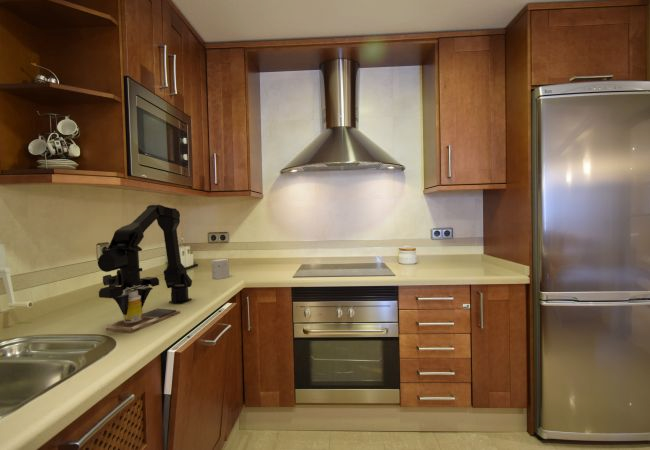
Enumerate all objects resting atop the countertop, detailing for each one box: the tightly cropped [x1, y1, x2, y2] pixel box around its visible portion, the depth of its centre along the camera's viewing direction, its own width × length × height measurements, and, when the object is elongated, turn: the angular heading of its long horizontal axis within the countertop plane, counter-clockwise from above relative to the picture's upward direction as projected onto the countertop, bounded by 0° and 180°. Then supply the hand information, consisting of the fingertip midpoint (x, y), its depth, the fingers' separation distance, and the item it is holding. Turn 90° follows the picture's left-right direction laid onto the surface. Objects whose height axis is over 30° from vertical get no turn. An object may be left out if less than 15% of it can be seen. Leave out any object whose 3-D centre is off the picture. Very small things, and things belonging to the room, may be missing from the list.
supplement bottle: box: [122, 289, 143, 323], centre depth 114 cm, size 6×6×10 cm
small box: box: [210, 258, 230, 280], centre depth 191 cm, size 8×6×10 cm
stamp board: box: [105, 308, 181, 334], centre depth 119 cm, size 21×11×1 cm, turn 160°
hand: (132, 312), depth 114 cm, fingers closed on supplement bottle, 5 cm apart
